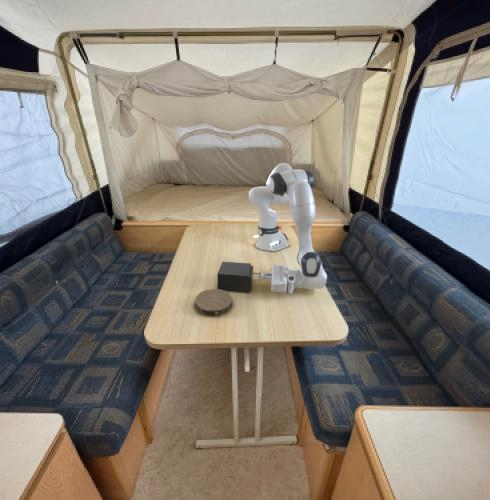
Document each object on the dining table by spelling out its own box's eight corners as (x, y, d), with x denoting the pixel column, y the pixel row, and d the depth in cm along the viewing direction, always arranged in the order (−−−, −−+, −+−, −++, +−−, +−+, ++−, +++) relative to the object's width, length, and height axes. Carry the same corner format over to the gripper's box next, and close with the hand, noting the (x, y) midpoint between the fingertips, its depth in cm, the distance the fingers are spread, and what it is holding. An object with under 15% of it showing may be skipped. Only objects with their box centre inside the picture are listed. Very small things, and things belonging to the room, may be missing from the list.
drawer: (260, 279, 135) (261, 266, 132) (259, 291, 125) (260, 278, 122) (226, 276, 137) (226, 263, 134) (222, 288, 127) (222, 275, 124)
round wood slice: (235, 296, 122) (235, 291, 121) (226, 319, 108) (226, 313, 107) (202, 292, 125) (202, 286, 124) (189, 313, 111) (189, 307, 110)
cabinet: (250, 279, 137) (251, 263, 133) (248, 292, 125) (248, 276, 121) (222, 276, 138) (222, 261, 134) (217, 290, 127) (217, 273, 123)
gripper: (290, 262, 134) (263, 260, 136) (292, 283, 116) (261, 281, 117) (289, 273, 137) (262, 271, 138) (291, 295, 118) (260, 293, 120)
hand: (261, 276), depth 128 cm, fingers closed
